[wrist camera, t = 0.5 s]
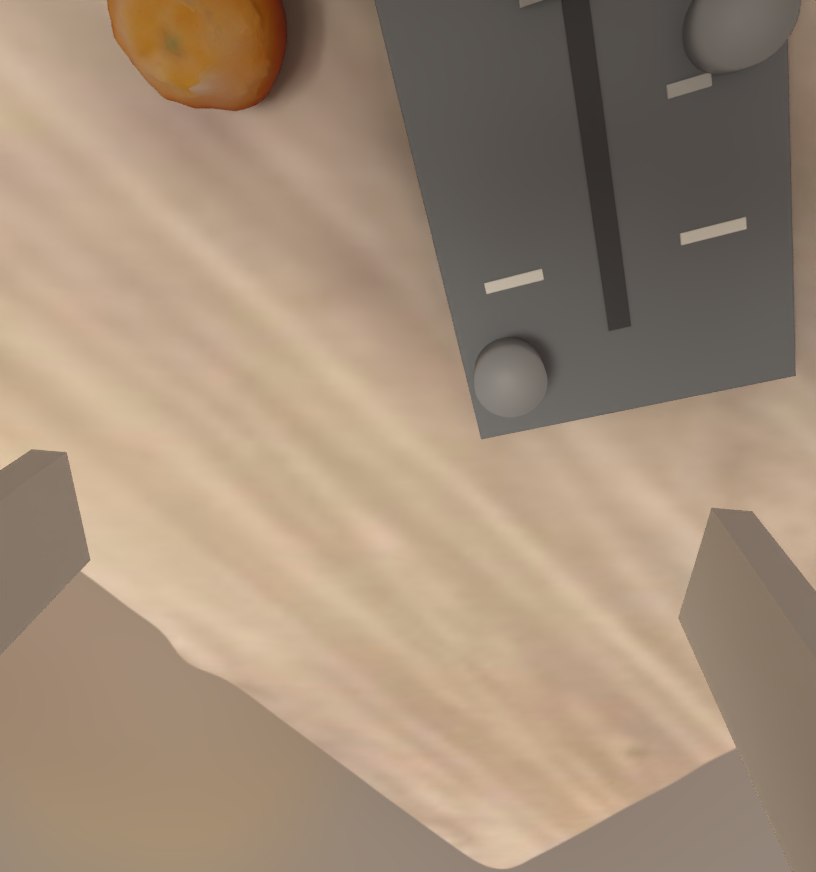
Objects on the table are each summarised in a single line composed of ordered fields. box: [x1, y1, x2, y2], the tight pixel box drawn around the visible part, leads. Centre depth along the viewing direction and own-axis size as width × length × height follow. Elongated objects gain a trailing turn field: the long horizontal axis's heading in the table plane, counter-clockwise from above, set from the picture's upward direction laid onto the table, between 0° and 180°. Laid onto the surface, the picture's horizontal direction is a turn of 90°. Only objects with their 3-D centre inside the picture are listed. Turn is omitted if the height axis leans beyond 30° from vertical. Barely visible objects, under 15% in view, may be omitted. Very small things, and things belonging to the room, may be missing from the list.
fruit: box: [107, 0, 287, 111], centre depth 29 cm, size 8×8×8 cm
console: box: [375, 0, 801, 439], centre depth 30 cm, size 30×18×4 cm, turn 15°
